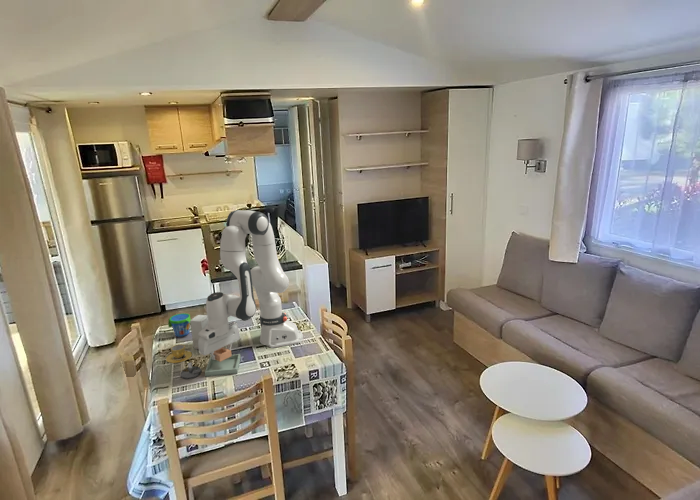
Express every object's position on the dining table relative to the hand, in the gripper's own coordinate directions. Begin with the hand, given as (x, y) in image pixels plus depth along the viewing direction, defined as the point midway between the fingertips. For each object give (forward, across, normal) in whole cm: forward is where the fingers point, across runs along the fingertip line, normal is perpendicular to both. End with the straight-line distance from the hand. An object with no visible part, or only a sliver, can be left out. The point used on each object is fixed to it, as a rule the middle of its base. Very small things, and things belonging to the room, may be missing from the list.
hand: (221, 355), depth 197 cm
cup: (+7, +6, -26) cm, 28 cm away
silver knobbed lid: (+6, +12, -8) cm, 15 cm away
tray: (+6, 0, 0) cm, 6 cm away
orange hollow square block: (+1, 0, 0) cm, 1 cm away
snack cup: (+6, -9, -48) cm, 49 cm away
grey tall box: (+6, -8, -27) cm, 29 cm away
